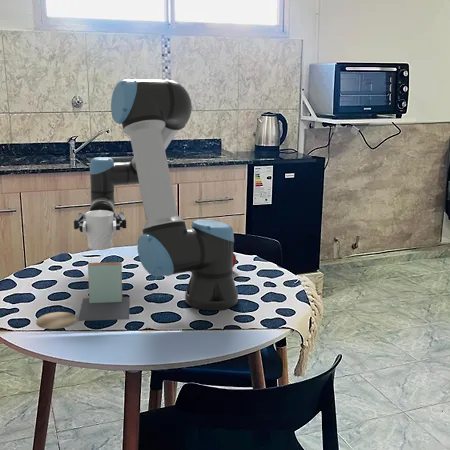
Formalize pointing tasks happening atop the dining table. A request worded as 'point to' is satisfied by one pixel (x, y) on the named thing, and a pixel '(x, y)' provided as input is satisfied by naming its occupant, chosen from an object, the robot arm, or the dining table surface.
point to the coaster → (56, 320)
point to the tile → (105, 282)
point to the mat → (104, 310)
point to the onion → (234, 259)
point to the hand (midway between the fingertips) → (99, 231)
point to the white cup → (99, 229)
